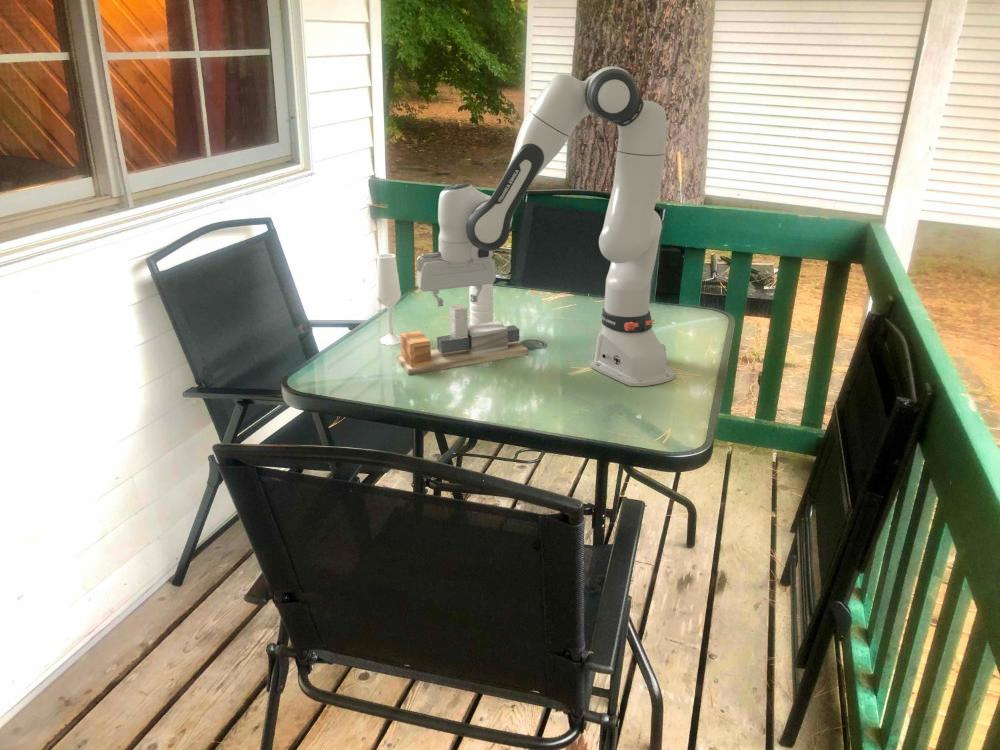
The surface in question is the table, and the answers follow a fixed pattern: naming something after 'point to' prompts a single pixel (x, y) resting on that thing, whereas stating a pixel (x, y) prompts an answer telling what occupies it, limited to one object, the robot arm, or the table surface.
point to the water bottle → (482, 305)
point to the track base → (485, 346)
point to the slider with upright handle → (464, 332)
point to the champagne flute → (388, 291)
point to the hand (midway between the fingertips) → (456, 303)
